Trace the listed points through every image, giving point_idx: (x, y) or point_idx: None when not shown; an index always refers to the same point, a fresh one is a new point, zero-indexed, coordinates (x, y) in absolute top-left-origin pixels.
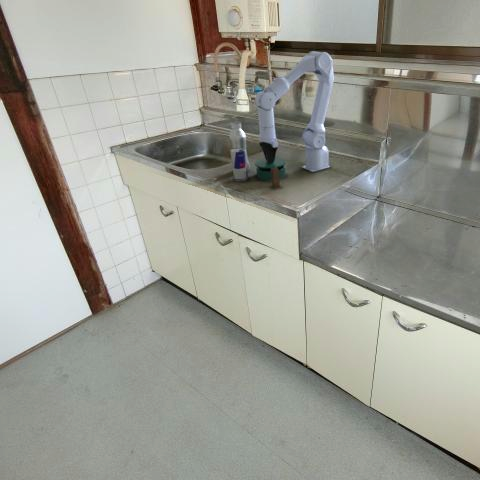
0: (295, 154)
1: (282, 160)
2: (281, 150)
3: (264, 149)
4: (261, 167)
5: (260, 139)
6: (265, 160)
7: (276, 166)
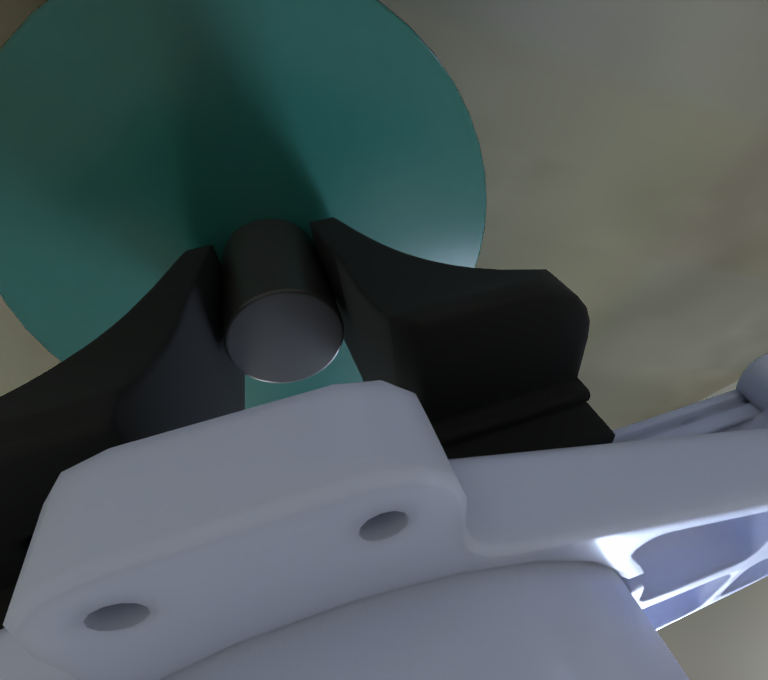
0: (624, 400)
1: (283, 397)
2: (747, 337)
3: (361, 310)
4: (3, 51)
5: (123, 643)
6: (368, 205)
7: (23, 320)
